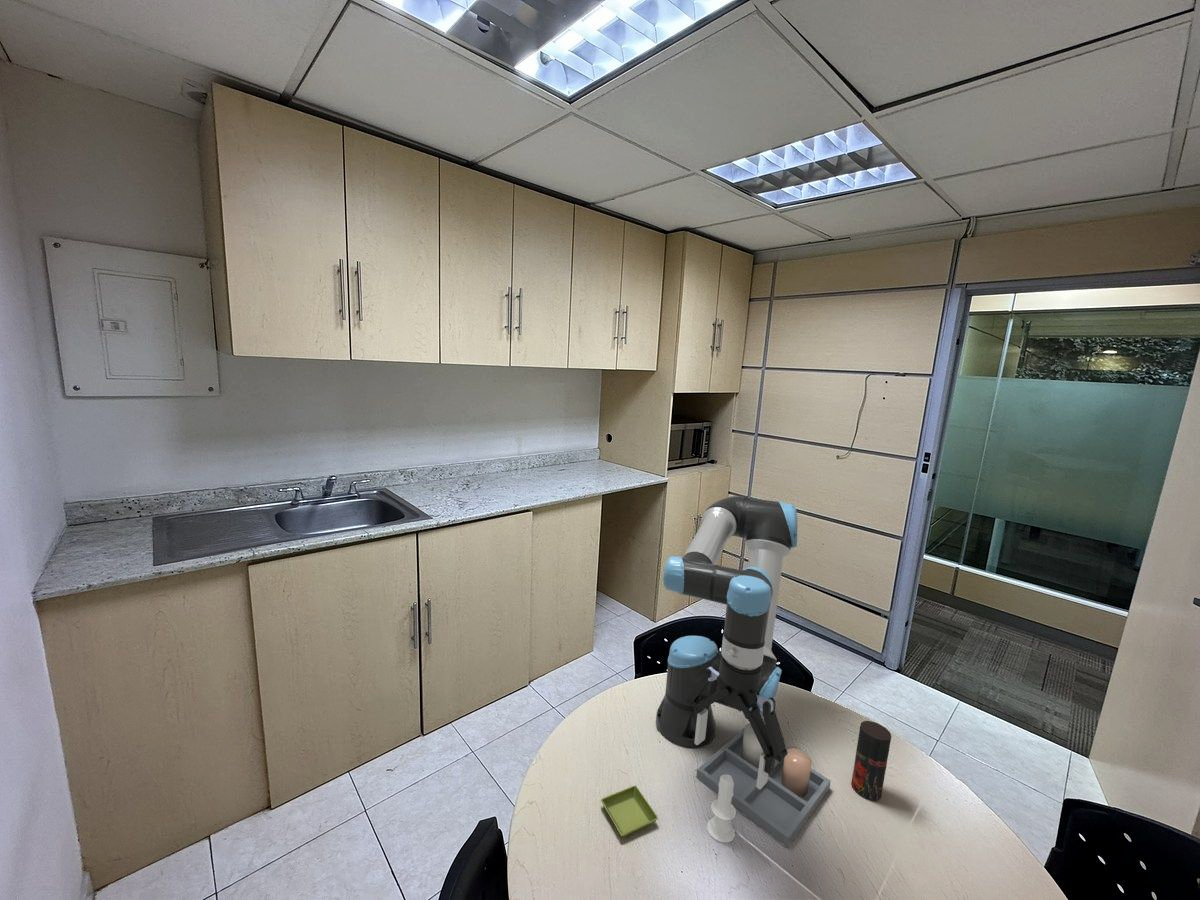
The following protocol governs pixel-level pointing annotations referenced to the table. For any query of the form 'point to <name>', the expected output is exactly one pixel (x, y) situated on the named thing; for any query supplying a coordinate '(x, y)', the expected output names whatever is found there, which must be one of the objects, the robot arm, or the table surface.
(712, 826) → the white peg
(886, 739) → the deodorant
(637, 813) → the green square dish
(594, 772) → the table surface
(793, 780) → the glossy peach egg
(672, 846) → the table surface
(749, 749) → the glossy white egg
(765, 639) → the robot arm
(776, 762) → the holder tray
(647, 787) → the table surface
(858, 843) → the table surface
